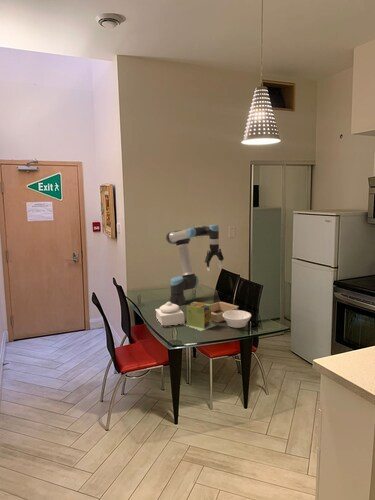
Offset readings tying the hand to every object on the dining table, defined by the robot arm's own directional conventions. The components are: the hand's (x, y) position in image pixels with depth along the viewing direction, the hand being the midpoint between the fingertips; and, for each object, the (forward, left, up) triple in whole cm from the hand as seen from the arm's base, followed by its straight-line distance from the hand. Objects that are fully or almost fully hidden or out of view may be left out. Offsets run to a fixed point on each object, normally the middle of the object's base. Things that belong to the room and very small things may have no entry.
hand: (214, 269), depth 307 cm
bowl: (+35, -14, -35) cm, 51 cm away
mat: (+15, -33, -35) cm, 50 cm away
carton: (+11, -8, -35) cm, 37 cm away
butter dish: (-6, -44, -35) cm, 56 cm away
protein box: (+15, -33, -34) cm, 50 cm away
